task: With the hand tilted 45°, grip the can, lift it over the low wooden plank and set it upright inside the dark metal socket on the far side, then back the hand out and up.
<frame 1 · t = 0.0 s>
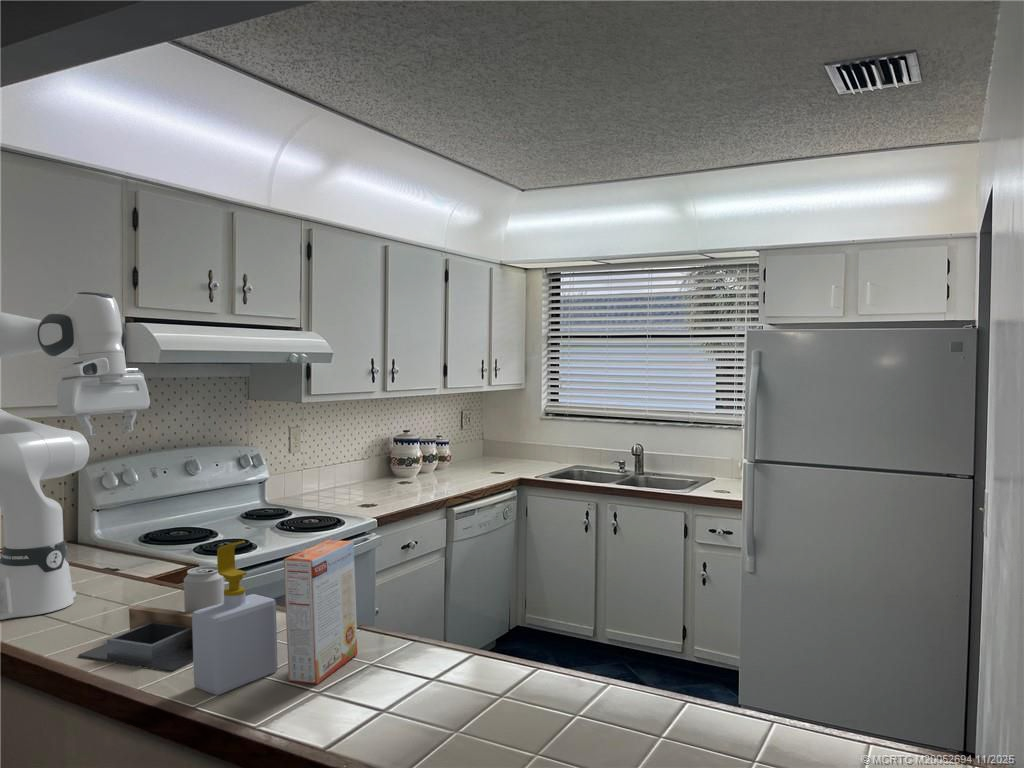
hand: (109, 434, 164), 39 cm above the counter, tool pointing down, fingers open, 8 cm apart
cracker box: (323, 669, 136), on the counter
can: (205, 629, 158), on the counter
soap bottle: (236, 680, 132), on the counter
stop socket: (152, 651, 146), on the counter
wooden plank: (181, 638, 152), on the counter
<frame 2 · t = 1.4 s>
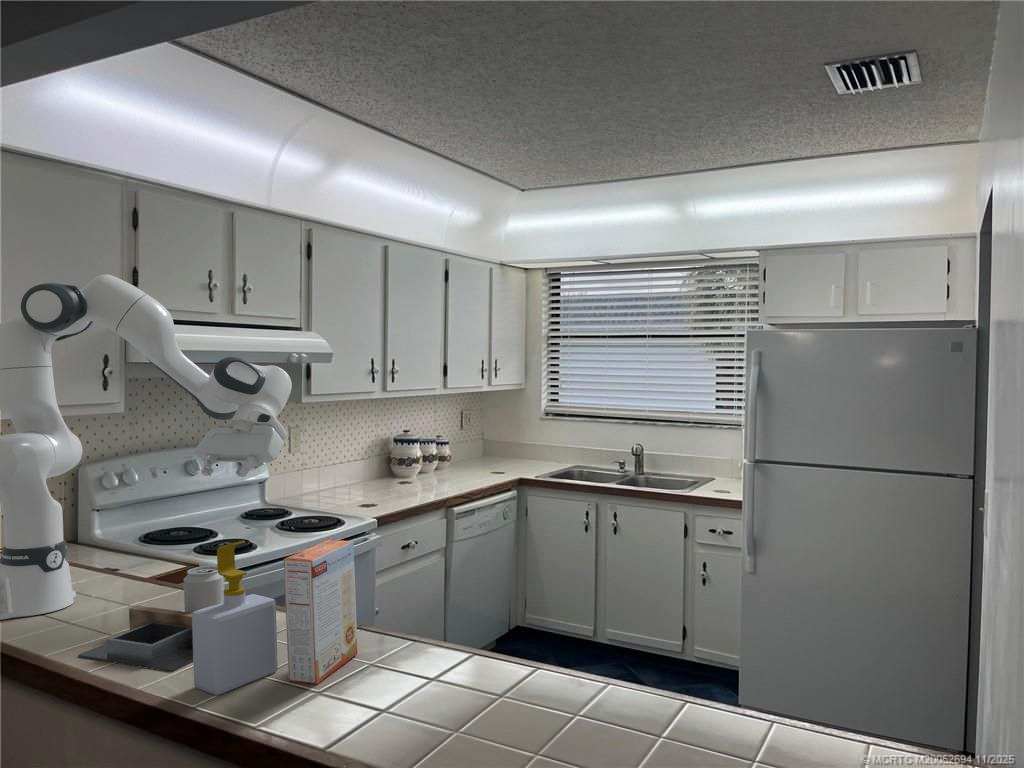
hand: (222, 474, 171), 29 cm above the counter, tool tilted 45°, fingers open, 8 cm apart
nothing on the counter moved.
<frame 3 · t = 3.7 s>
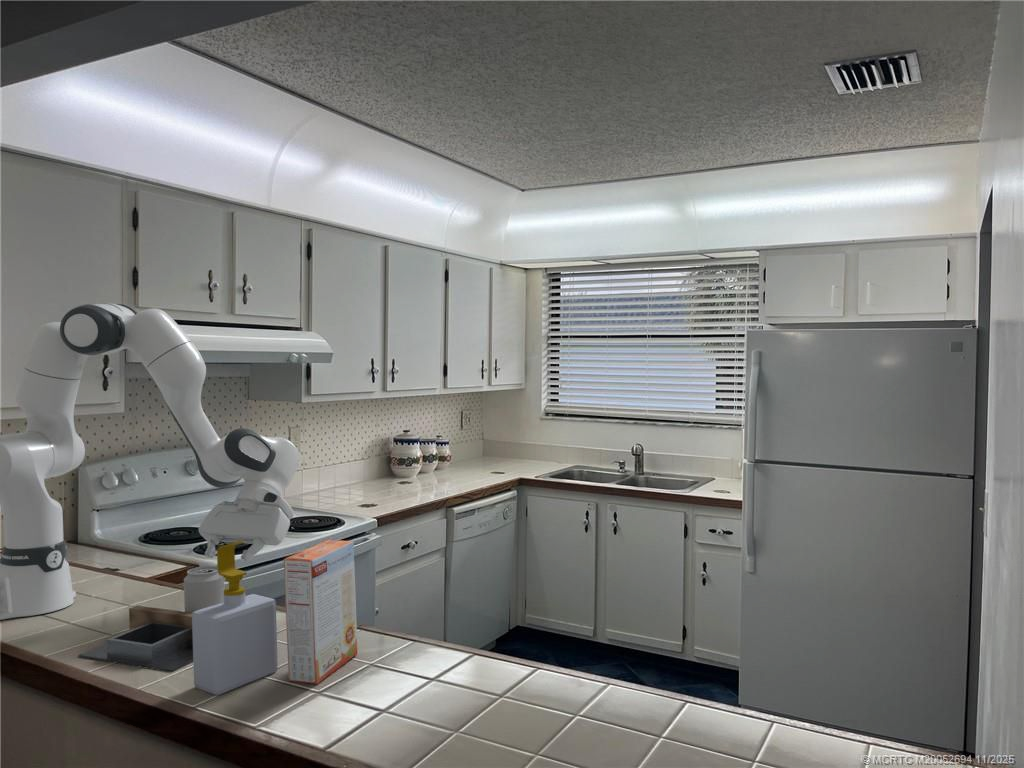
hand: (226, 558, 164), 12 cm above the counter, tool tilted 45°, fingers open, 8 cm apart
nothing on the counter moved.
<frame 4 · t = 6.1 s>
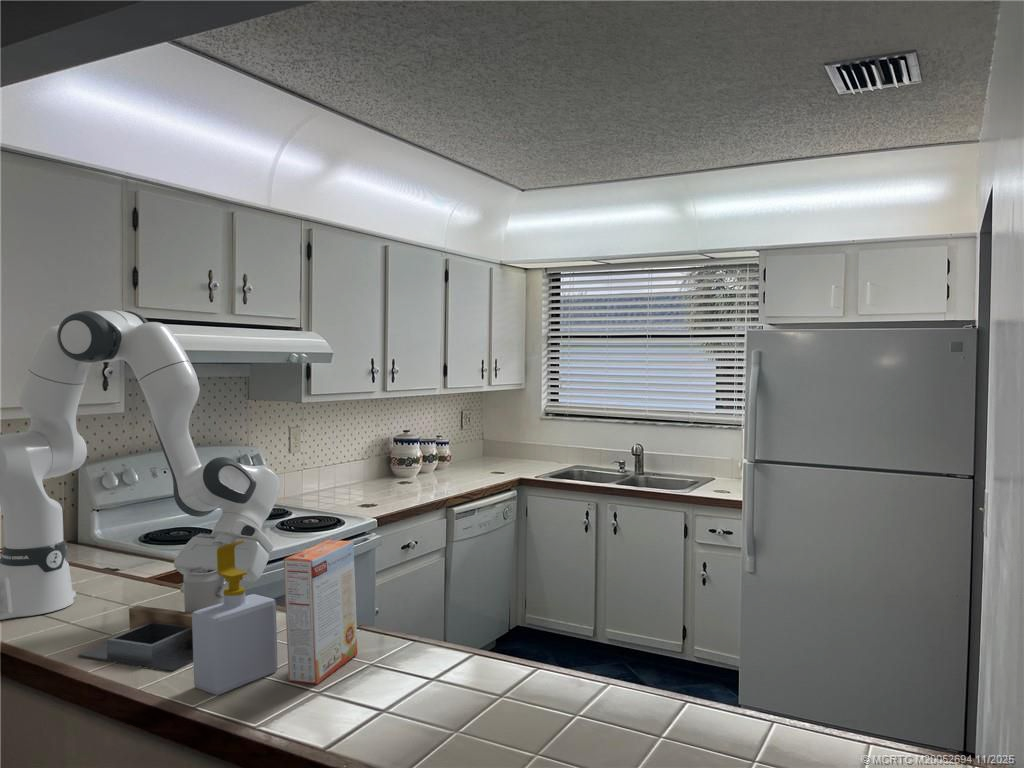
hand: (202, 594, 158), 7 cm above the counter, tool tilted 45°, fingers closed on can, 7 cm apart
can: (205, 628, 158), on the counter, touching gripper
everything else where it was.
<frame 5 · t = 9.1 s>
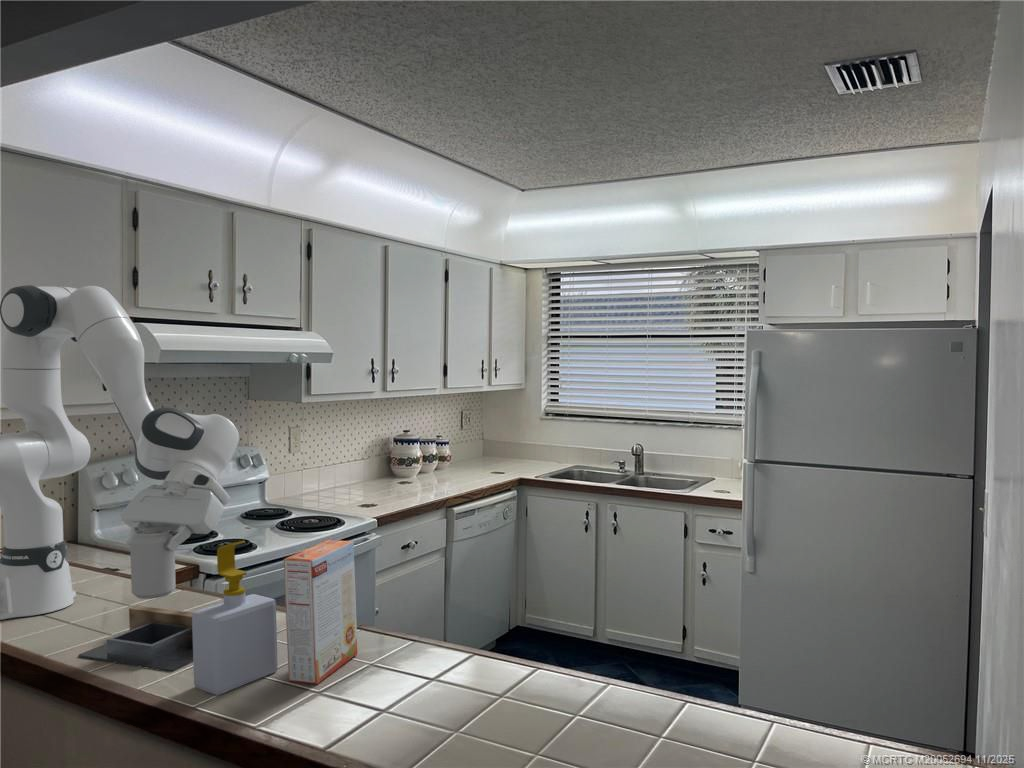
hand: (149, 548, 145), 19 cm above the counter, tool tilted 45°, fingers closed on can, 7 cm apart
can: (153, 595, 146), point 10 cm above the counter, touching gripper
everything else where it was.
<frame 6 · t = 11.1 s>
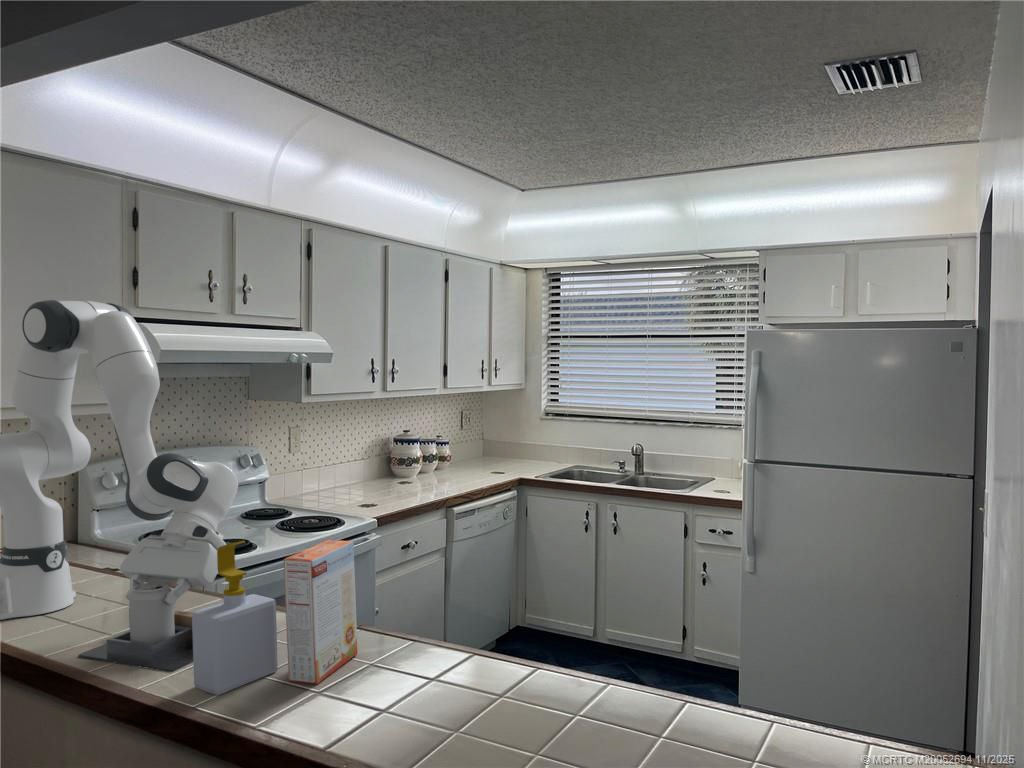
hand: (148, 601, 145), 10 cm above the counter, tool tilted 45°, fingers closed on can, 7 cm apart
can: (153, 650, 146), resting on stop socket, touching gripper
everything else where it was.
when the fingers open (9 cm above the counter, at t = 12.3 s): can stays where it is, resting on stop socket.
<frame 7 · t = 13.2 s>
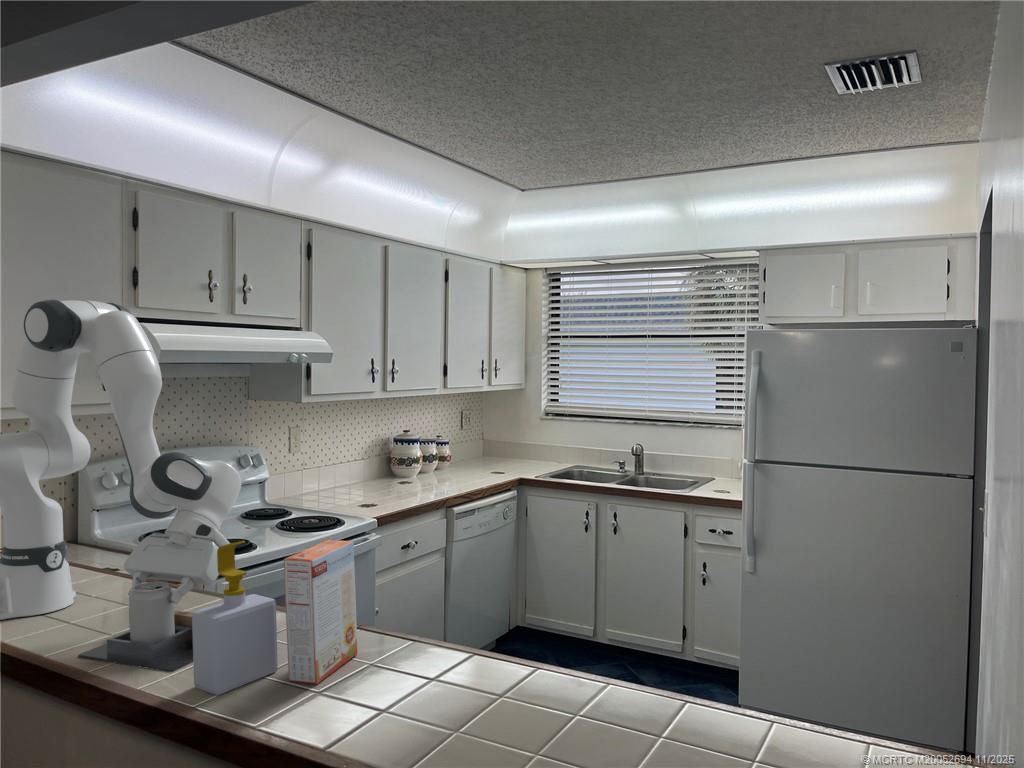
hand: (152, 599, 146), 10 cm above the counter, tool tilted 45°, fingers open, 8 cm apart
can: (153, 650, 146), resting on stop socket, touching gripper
everything else where it was.
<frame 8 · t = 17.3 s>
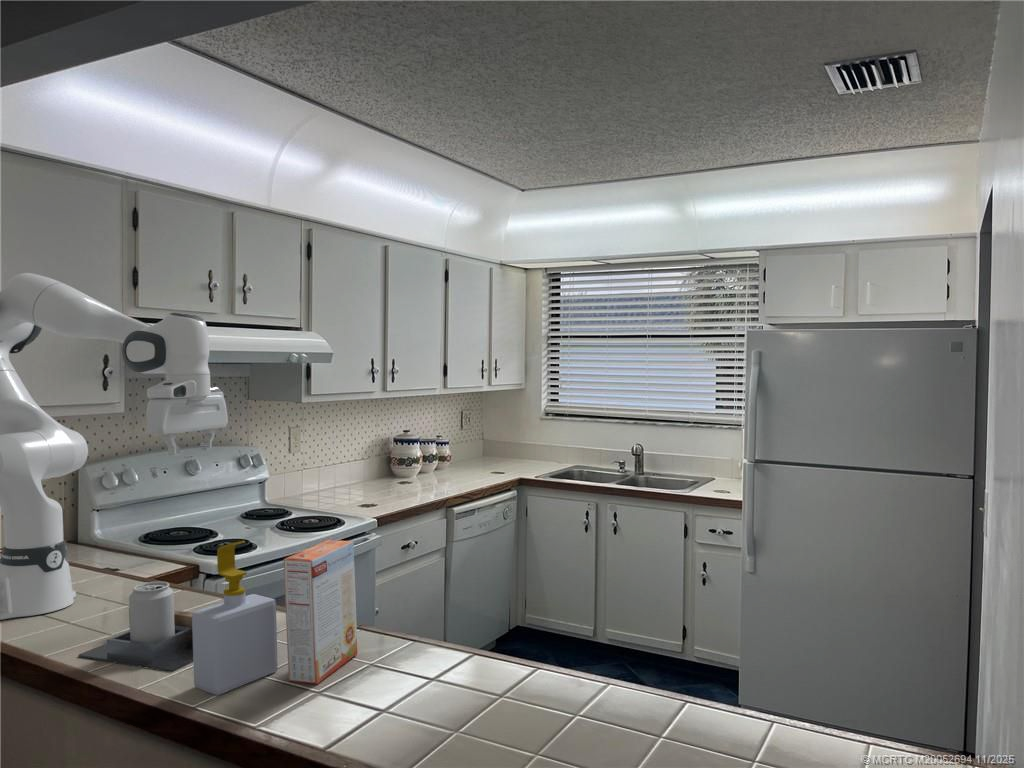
hand: (190, 452, 170), 34 cm above the counter, tool pointing down, fingers open, 8 cm apart
can: (153, 650, 146), resting on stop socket
everything else where it was.
at the end: can 0.1 cm from the target spot, resting on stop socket; can tilted 0°; the gripper is holding nothing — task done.
